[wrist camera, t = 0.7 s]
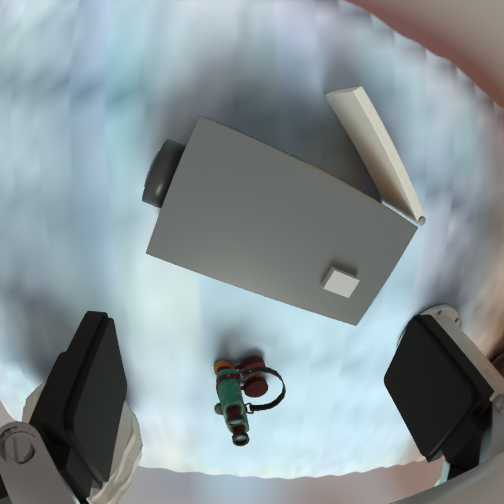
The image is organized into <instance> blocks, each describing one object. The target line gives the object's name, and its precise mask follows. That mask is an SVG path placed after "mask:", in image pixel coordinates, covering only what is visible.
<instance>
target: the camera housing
mask: <svg viewBox="0 0 504 504" xmlns="http://www.w3.org/2000/svg"><path fill="white" fill-rule="evenodd" d="M144 187H145V189H144V192H143V197H142V201H143V202H146V203H148V204H151V205H153V206H156V207H159V208H161V211H160V214H159V216H158V219H157V222H156V225H155V228H154V230H153V233H152V236H151V239H150V242H149V245H148V248H147V251H146V254H149V255H151V256H154V257H157V258H159V259H162V260H165V261H167V262H170V263H173V264H175V265H178V266H181V267H183V268H186V269H189V270H192V271H194V272H197V273H200V274H203V275H205V276H208V277H211V278H214V279H217V280H219V281H222V282H225V283H228V284H231V285H234V286H236V287H239V288H242V289H245V290H248V291H251V292H254V293H257V294H260V295H263V296H265V297H268V298H271V299H274V300H277V301H280V302H283V303H286V304H289V305H292V306H295V307H298V308H301V309H305V310H308V311H311V312H314V313H317V314H320V315H323V316H326V317H329V318H332V319H336V320H339V321H342V322H345V323H348V324H352V325H355V326H356V325H357V324H358V323H359V321H360V320H361V318H362V317H363V315H364V314H365V313H366V311H367V310H368V308H369V307H370V305H371V304H372V302H373V301H374V299H375V298H376V296H377V295H378V293H379V292H380V290H381V288H382V287H383V285H384V284H385V282H386V281H387V279H388V277H389V276H390V274H391V273H392V271H393V269H394V268H395V266H396V265H397V263H398V261H399V260H400V258H401V256H402V255H403V253H404V251H405V249H406V248H407V246H408V244H409V243H410V241H411V239H412V237H413V236H414V234H415V232H416V230H417V228H418V227H417V226H416V225H414V224H413V223H411V222H410V221H408V220H406V219H405V218H403V217H402V216H401V215H399V214H398V213H396V212H394V211H393V210H391V209H390V208H388V207H387V206H385V205H383V204H382V203H380V202H378V201H377V200H375V199H373V198H372V197H370V196H368V195H366V194H365V193H363V192H361V191H359V190H358V189H356V188H354V187H352V186H350V185H349V184H347V183H345V182H343V181H341V180H339V179H337V178H336V177H334V176H332V175H330V174H328V173H326V172H324V171H322V170H320V169H318V168H317V167H315V166H313V165H311V164H309V163H307V162H305V161H303V160H301V159H299V158H297V157H295V156H292V155H290V154H288V153H286V152H284V151H281V150H279V149H277V148H275V147H273V146H271V145H269V144H267V143H264V142H262V141H260V140H258V139H256V138H253V137H251V136H249V135H247V134H244V133H242V132H240V131H237V130H235V129H233V128H230V127H228V126H226V125H223V124H221V123H218V122H216V121H214V120H211V119H209V118H206V117H202V116H199V118H198V120H197V123H196V125H195V127H194V129H193V132H192V134H191V136H190V138H189V141H188V143H187V145H186V146H184V145H181V144H179V143H176V142H174V141H171V140H166V142H165V143H164V145H163V146H162V148H161V150H160V151H159V152H158V153H157V155H156V157H155V158H154V160H153V162H152V165H151V167H150V169H149V172H148V175H147V178H146V181H145V186H144Z"/></svg>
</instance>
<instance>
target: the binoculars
mask: <svg viewBox="0 0 504 504" xmlns="http://www.w3.org/2000/svg"><path fill="white" fill-rule="evenodd" d="M237 369H239V371H238V372H237V371H236V370H237ZM214 371H215V374H216V375H217V379H216V383H217V385H216V390H217V394H218V397H219V400H220V403H217V405H215V407H214V409H215V412H216V413H217V414H221V415H223V416H224V418H225V422H226V425H227V427H228V429H229V431H230V432H231V433H233V436H232V440H233V443H234V444H235V445H236V446H244V445H246V444H247V443H248V442H249V437H248V434H247V432H248V431H249V425H248V420H247V414H246V413H248V414H253V413H254V411H259V410H267V409H271V408H273V407H275V406H276V405H278V404H279V403H280V402H281V401H282V399H283V398H284V396H285V392H286V389H285V385H284V383H283V380H282V378H281V376H280V375H279V374H278V372H277V371H275V370H273V369H271V368H268V367H266V366H265V363H264V361H263V359H262V358H261V357H258V356H253V357H250V358H247V359H245V360H244V361H243V362H241V363H240V365H237V366H234V365H233V364H232V363H230V362H228V361H223V360H222V361H218V362H216V363H215V364H214ZM239 372H240V373H241V375H242V376H244V378H246V379H240V378H241V377H240V374H239ZM262 372H264V373H271V374H273V375H275V376H277V377H278V378H279V379H280V380H281V381H282V383H283V389H282V393H281V394H280V395H279V396H278V397H277V399H276V400H274V401H272V402H271V403H268V404H264V405H252V404H251V403H247V404H244V402H243V398H242V393H241V390H244V392H245V394H246V395H247V396H249V397H254V398H255V397H260V396H262V395H264V394H265V393H266V392H267V390H268V385H267V383H266V381H265V379H264V378H262V377H254V376H257V375H260V374H261V373H262ZM247 377H253V378H251V379H249V380H248V381H247V382H245V384H244V385H243V386H240V381H246V380H247V379H248V378H247ZM248 404H250V405H249V407H250V411H251V412H247V411H248V410H247V407H246V405H248Z"/></svg>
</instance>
